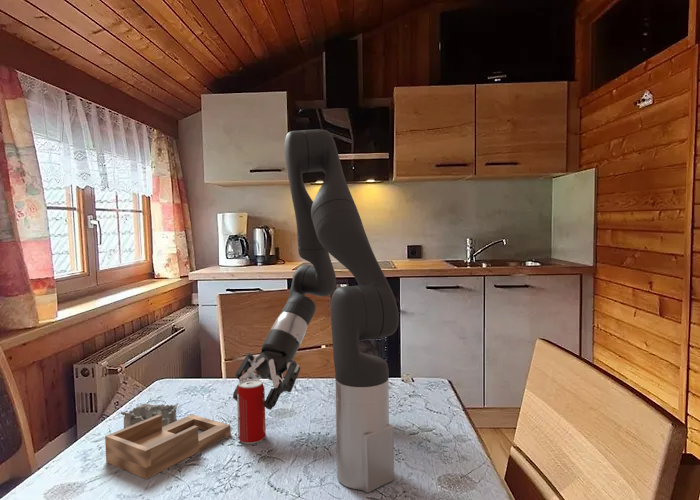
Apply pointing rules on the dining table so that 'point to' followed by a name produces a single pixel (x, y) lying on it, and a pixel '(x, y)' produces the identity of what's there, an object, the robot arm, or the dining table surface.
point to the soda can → (251, 411)
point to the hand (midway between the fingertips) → (251, 403)
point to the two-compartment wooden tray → (161, 443)
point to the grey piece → (150, 414)
